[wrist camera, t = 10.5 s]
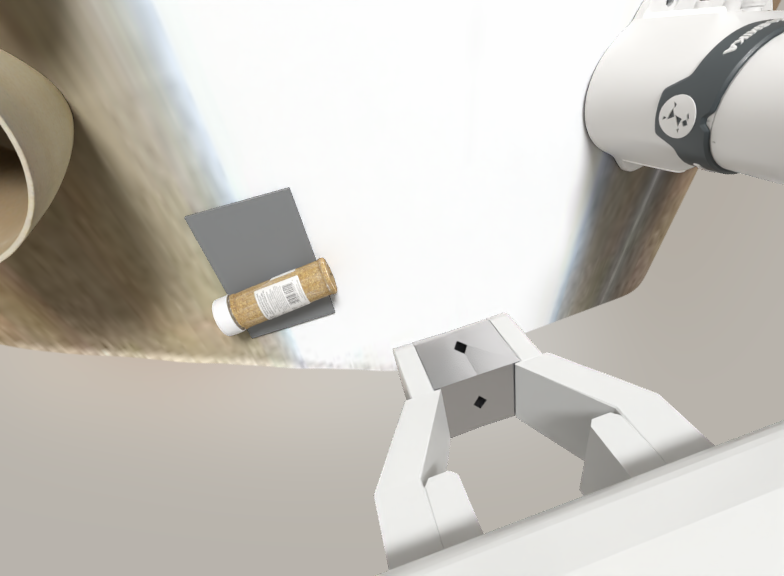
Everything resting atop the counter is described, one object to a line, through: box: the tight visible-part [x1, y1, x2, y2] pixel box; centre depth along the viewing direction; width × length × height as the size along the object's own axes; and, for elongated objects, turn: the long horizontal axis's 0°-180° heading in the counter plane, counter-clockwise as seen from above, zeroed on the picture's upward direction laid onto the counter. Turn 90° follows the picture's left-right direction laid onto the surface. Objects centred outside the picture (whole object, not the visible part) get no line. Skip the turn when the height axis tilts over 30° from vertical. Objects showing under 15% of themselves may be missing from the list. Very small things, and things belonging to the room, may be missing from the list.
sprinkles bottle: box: [212, 258, 337, 336], centre depth 43 cm, size 5×5×13 cm
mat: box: [185, 187, 335, 338], centre depth 44 cm, size 11×17×1 cm, turn 12°
